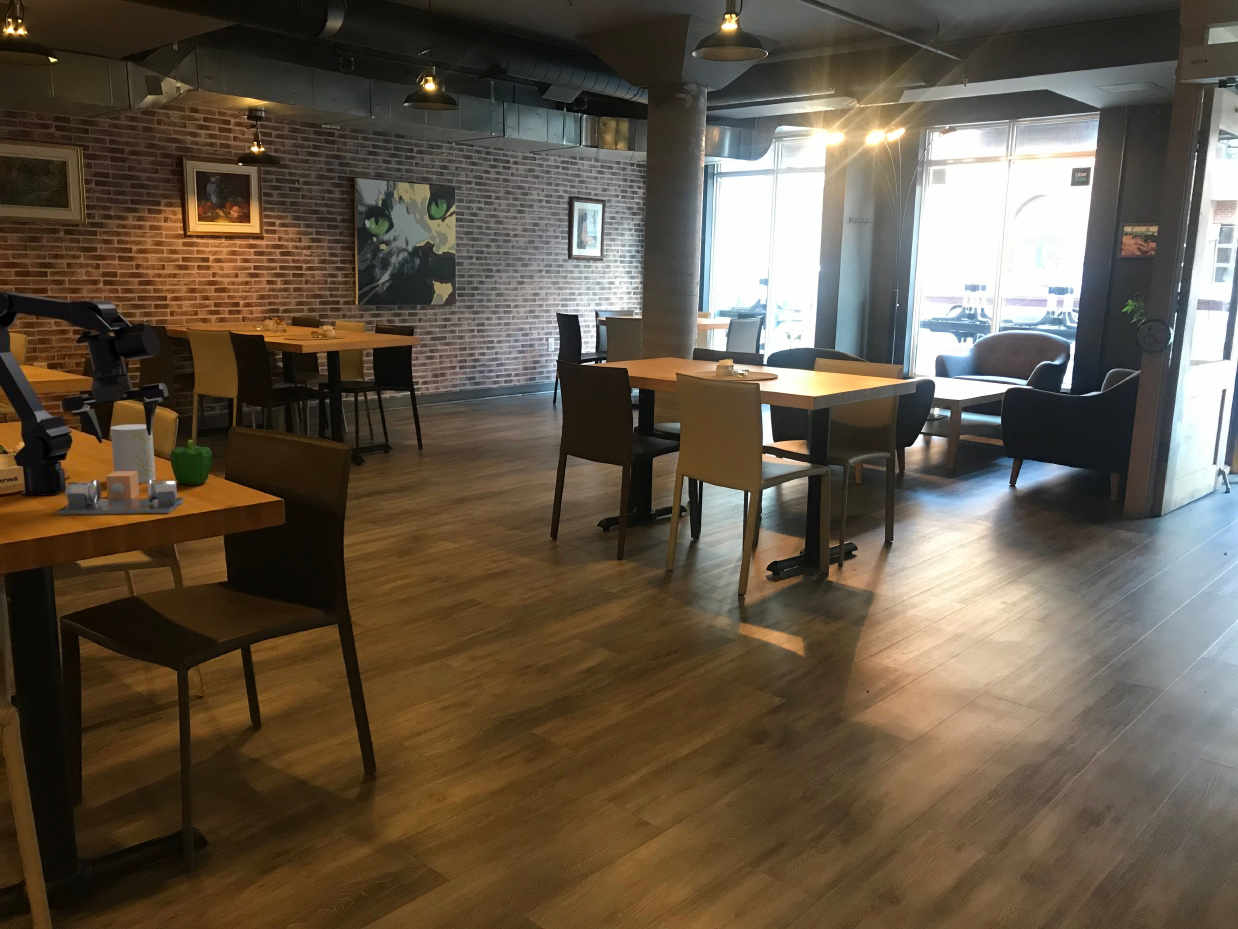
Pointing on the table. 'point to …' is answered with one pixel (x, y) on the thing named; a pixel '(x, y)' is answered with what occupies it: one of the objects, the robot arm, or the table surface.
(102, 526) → the table surface
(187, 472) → the bell pepper
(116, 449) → the cup
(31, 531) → the table surface
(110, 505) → the bench
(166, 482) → the shaft
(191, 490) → the table surface
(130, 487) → the coupler
